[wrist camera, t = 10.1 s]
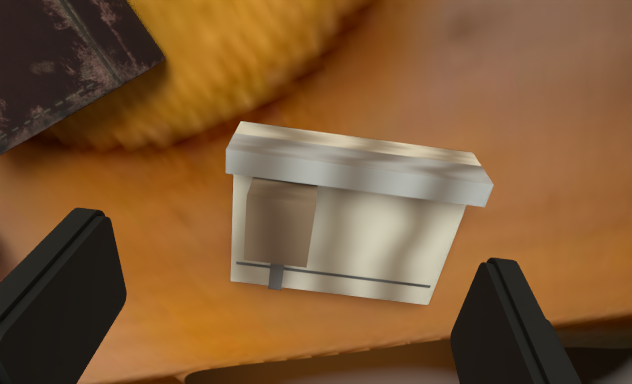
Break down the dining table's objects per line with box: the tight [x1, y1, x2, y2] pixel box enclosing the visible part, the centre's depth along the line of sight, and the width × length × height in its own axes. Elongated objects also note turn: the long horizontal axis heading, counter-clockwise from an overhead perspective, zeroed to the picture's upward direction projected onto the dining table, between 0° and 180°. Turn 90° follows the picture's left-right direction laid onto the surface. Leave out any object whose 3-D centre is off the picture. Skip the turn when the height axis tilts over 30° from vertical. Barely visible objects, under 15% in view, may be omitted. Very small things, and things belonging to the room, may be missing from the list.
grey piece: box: [226, 121, 494, 305], centre depth 37 cm, size 20×16×6 cm
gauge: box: [244, 177, 318, 290], centre depth 35 cm, size 5×12×5 cm, turn 173°
